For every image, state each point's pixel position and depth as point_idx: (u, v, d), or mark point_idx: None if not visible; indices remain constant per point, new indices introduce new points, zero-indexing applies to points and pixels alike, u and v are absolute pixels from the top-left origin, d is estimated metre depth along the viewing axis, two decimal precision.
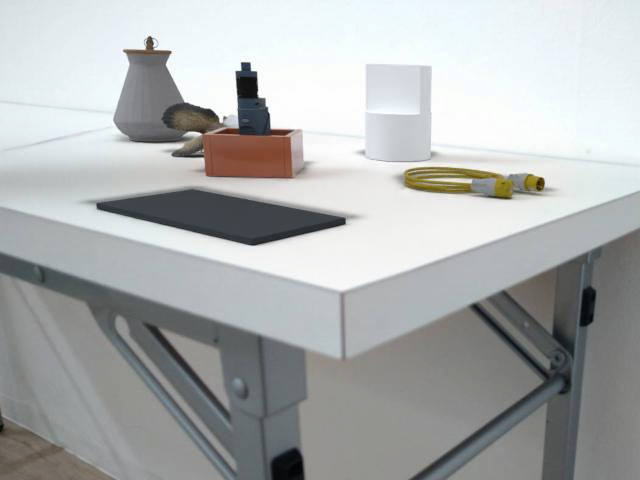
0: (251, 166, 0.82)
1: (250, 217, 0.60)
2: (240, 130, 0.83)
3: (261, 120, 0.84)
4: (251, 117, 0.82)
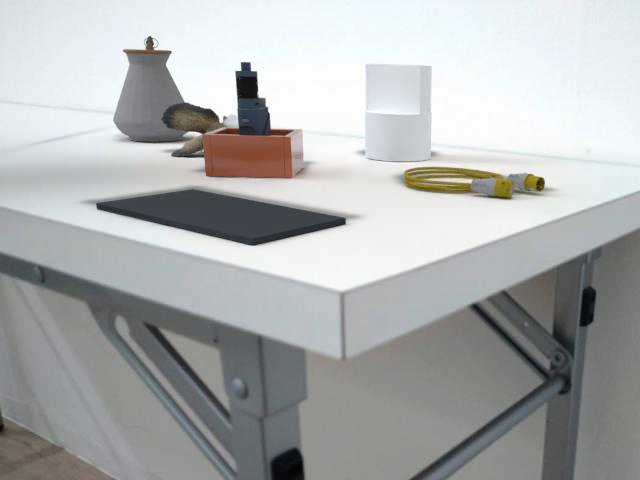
0: (251, 166, 0.82)
1: (250, 217, 0.60)
2: (240, 130, 0.83)
3: (261, 120, 0.84)
4: (251, 117, 0.82)
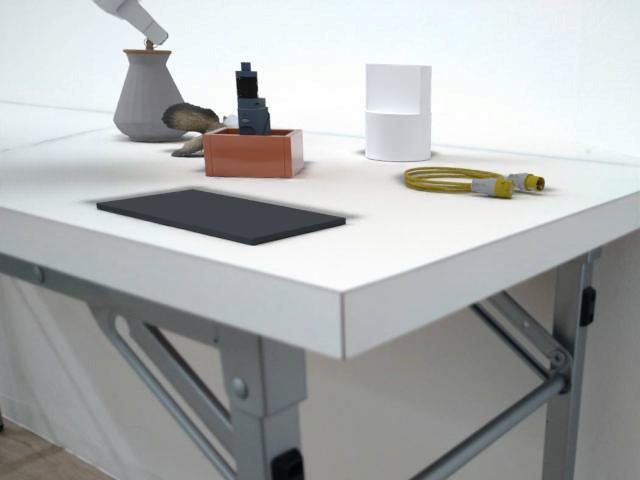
0: (251, 166, 0.82)
1: (250, 217, 0.60)
2: (240, 130, 0.83)
3: (261, 120, 0.84)
4: (251, 117, 0.82)
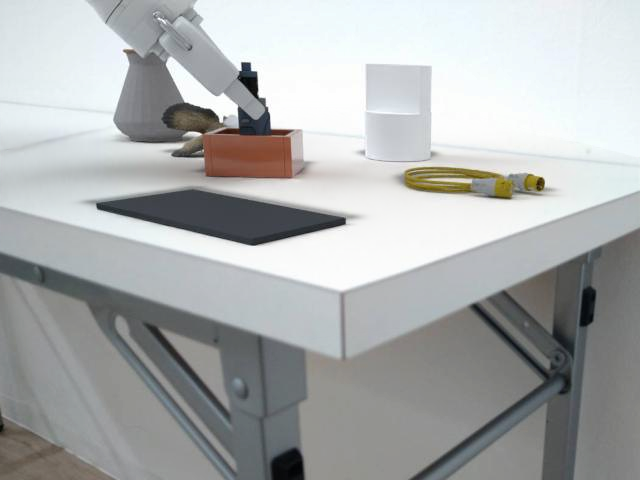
0: (251, 166, 0.82)
1: (250, 217, 0.60)
2: (240, 130, 0.83)
3: (261, 120, 0.84)
4: (251, 117, 0.82)
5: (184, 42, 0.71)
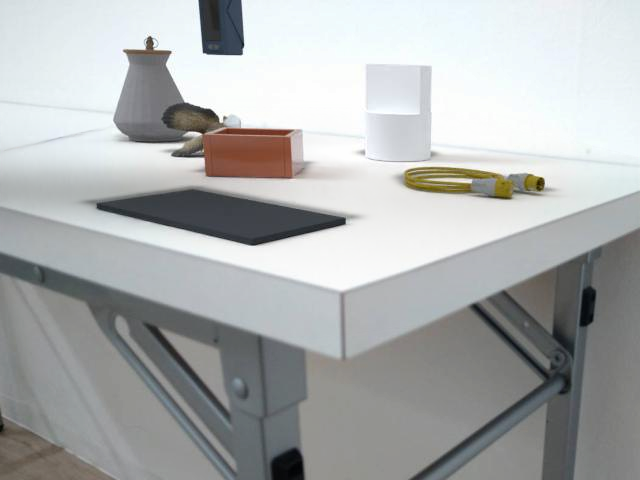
0: (251, 166, 0.82)
1: (250, 217, 0.60)
2: None
3: None
4: None
5: None
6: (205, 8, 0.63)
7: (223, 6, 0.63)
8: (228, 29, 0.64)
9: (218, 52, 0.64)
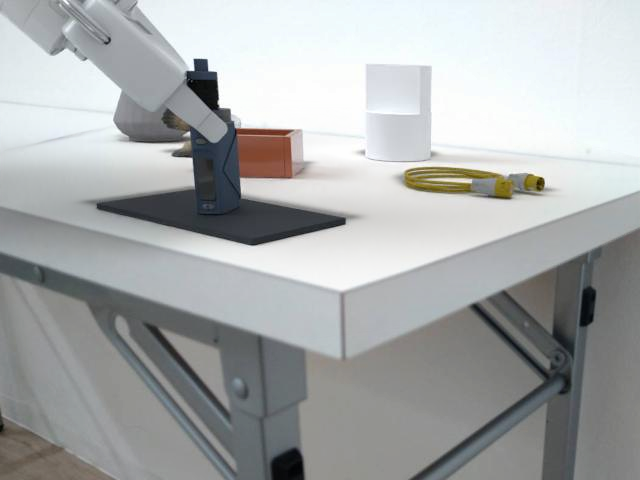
0: (251, 166, 0.82)
1: (250, 217, 0.60)
2: (194, 154, 0.59)
3: (223, 140, 0.60)
4: None
5: (97, 32, 0.47)
6: (199, 168, 0.60)
7: (218, 166, 0.59)
8: (223, 188, 0.61)
9: (213, 211, 0.61)
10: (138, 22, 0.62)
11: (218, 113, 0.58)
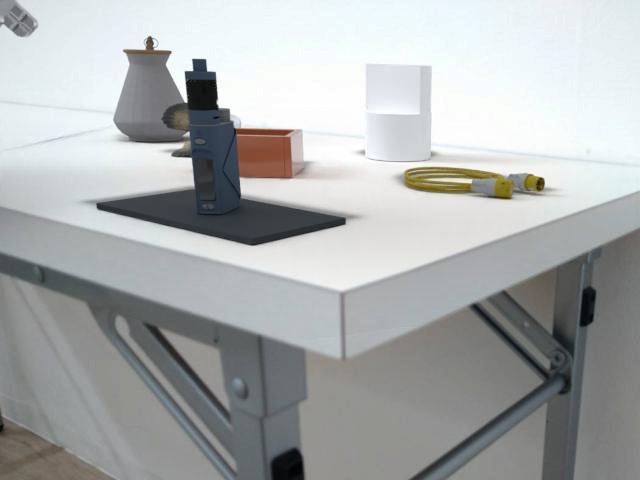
0: (251, 166, 0.82)
1: (250, 217, 0.60)
2: (193, 154, 0.59)
3: (222, 140, 0.60)
4: (208, 136, 0.58)
5: None
6: (199, 169, 0.60)
7: (218, 166, 0.59)
8: (223, 188, 0.61)
9: (213, 212, 0.61)
10: None
11: (217, 113, 0.58)
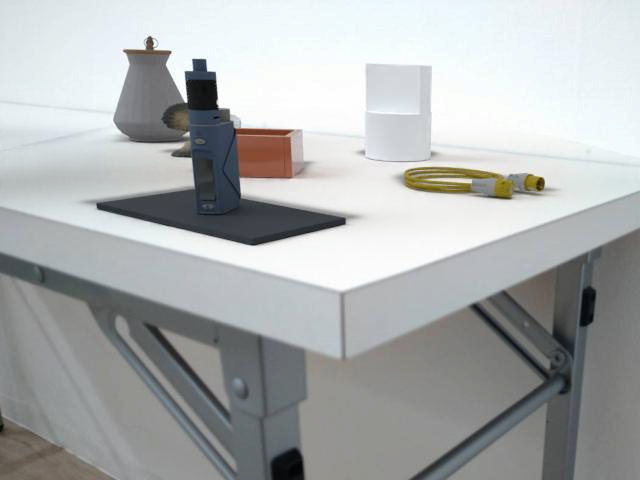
0: (251, 166, 0.82)
1: (250, 217, 0.60)
2: (193, 154, 0.59)
3: (222, 140, 0.60)
4: (208, 136, 0.58)
5: None
6: (199, 169, 0.60)
7: (218, 166, 0.59)
8: (223, 188, 0.61)
9: (213, 212, 0.61)
10: None
11: (217, 113, 0.58)
